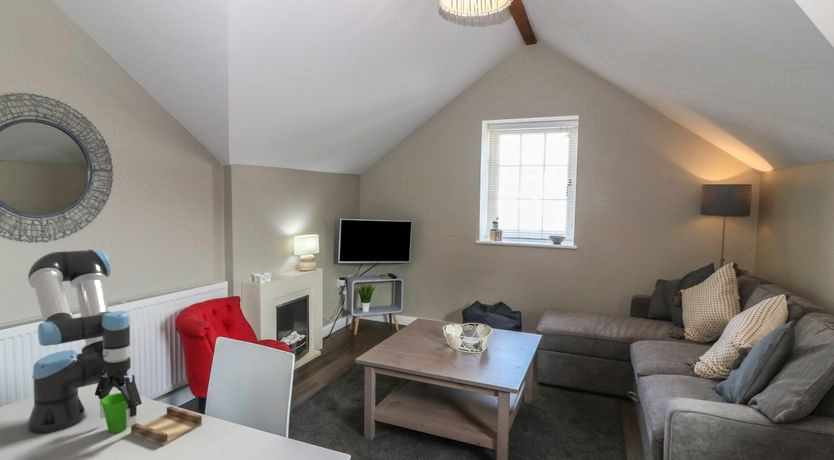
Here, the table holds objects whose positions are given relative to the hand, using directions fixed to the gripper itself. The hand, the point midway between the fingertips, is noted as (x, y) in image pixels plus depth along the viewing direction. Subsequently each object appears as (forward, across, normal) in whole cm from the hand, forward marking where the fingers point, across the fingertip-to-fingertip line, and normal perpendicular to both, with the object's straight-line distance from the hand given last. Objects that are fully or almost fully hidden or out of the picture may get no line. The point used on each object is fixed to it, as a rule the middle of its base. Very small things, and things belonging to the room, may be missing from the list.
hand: (118, 421), depth 146 cm
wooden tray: (+3, +14, +8) cm, 16 cm away
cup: (+3, -1, 0) cm, 3 cm away
